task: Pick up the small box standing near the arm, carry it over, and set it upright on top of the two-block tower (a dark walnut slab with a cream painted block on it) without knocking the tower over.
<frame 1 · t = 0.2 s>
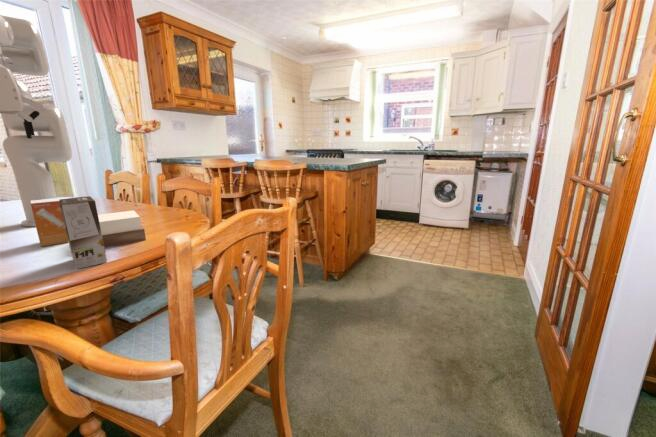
hand: (1, 138, 71), 30 cm above the table, tool pointing down, fingers open, 9 cm apart
small box: (58, 242, 90), on the table
coffee box: (90, 261, 76), on the table
base block: (121, 240, 93), on the table, touching top block
top block: (118, 228, 92), point 3 cm above the table, touching base block
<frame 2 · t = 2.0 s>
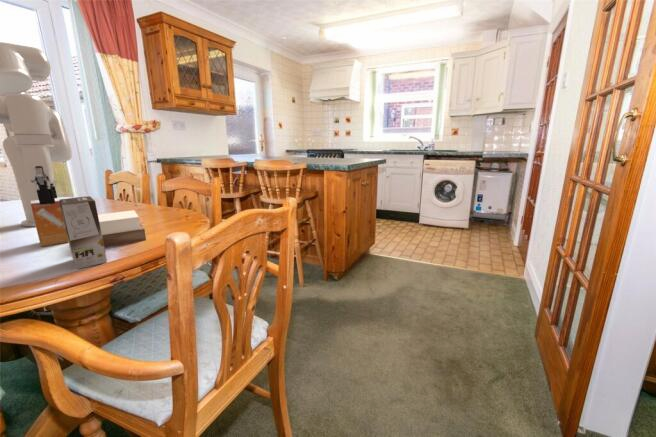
hand: (49, 201, 87), 13 cm above the table, tool pointing down, fingers open, 9 cm apart
nothing on the table moved.
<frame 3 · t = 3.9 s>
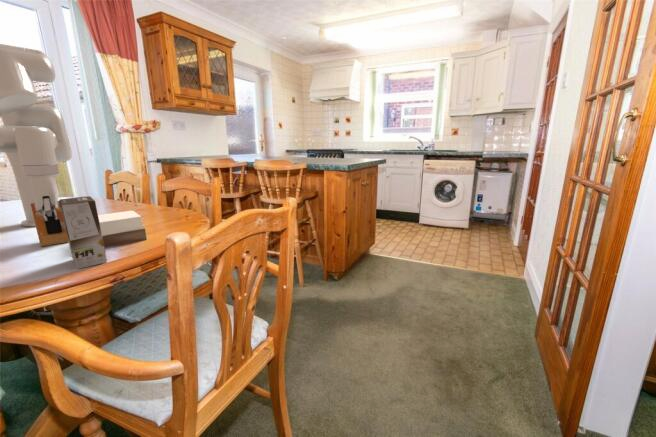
hand: (55, 229, 89), 4 cm above the table, tool pointing down, fingers closed on small box, 6 cm apart
small box: (58, 242, 90), on the table, touching gripper
everything else where it was.
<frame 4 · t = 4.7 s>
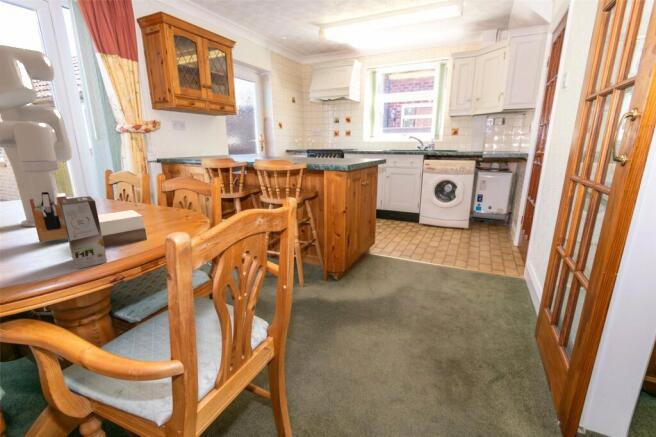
hand: (54, 225, 90), 5 cm above the table, tool pointing down, fingers closed on small box, 6 cm apart
small box: (57, 237, 91), point 1 cm above the table, touching gripper
everything else where it was.
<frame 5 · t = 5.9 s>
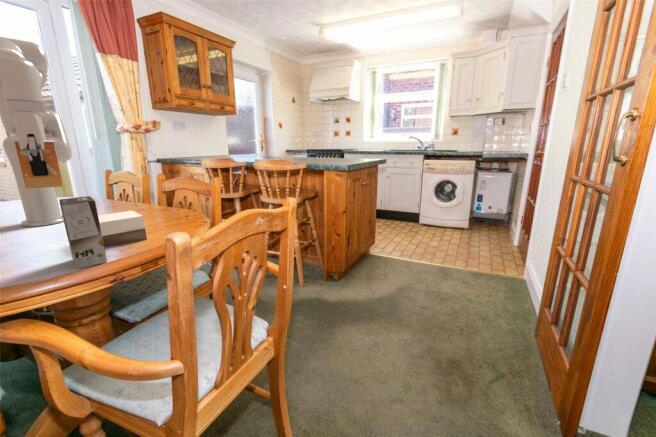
hand: (42, 173, 85), 21 cm above the table, tool pointing down, fingers closed on small box, 6 cm apart
small box: (45, 187, 86), point 17 cm above the table, touching gripper
everything else where it was.
when the fingers open (13 cm above the table, at t = 10.7 s): small box drops 2 cm, resting on top block.
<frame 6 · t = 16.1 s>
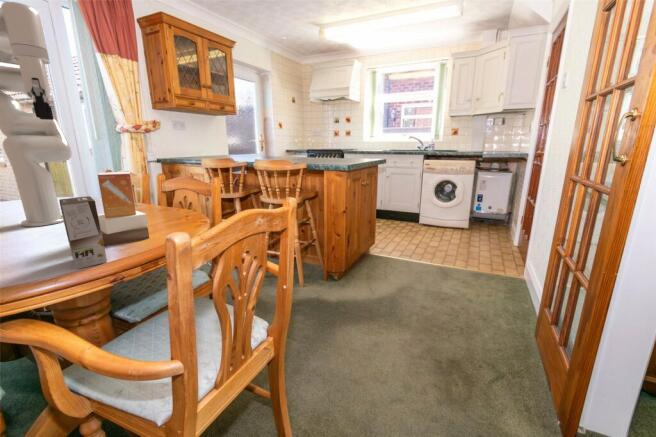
hand: (45, 118, 88), 36 cm above the table, tool pointing down, fingers open, 9 cm apart
small box: (121, 215, 93), point 7 cm above the table, touching top block
base block: (124, 238, 95), on the table, touching top block
top block: (121, 226, 94), point 3 cm above the table, touching base block, small box
everything else where it was.
at the end: small box 0.4 cm off-centre on the top block, point 3.8 cm above the top block's base; small box tilted 1°; top block 0.4 cm off-centre on the base block, point 4.0 cm above the base block's base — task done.
